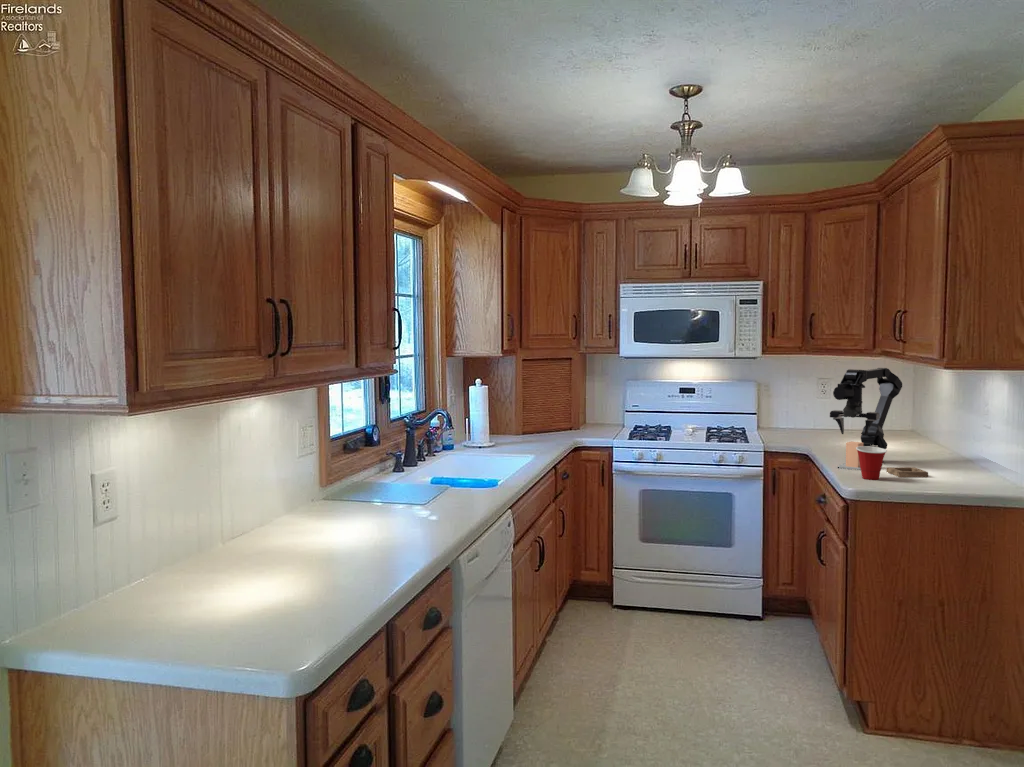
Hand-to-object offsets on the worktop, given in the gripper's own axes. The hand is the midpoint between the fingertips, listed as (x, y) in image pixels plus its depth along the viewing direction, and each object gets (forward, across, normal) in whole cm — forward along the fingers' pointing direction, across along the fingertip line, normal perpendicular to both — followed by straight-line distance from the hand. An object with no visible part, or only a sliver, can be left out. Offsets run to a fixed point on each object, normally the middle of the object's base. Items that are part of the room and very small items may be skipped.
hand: (854, 435), depth 318 cm
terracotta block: (+12, +2, -6) cm, 14 cm away
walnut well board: (+13, +23, -11) cm, 29 cm away
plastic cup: (+13, +14, -28) cm, 34 cm away
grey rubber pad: (+13, +2, -6) cm, 14 cm away
